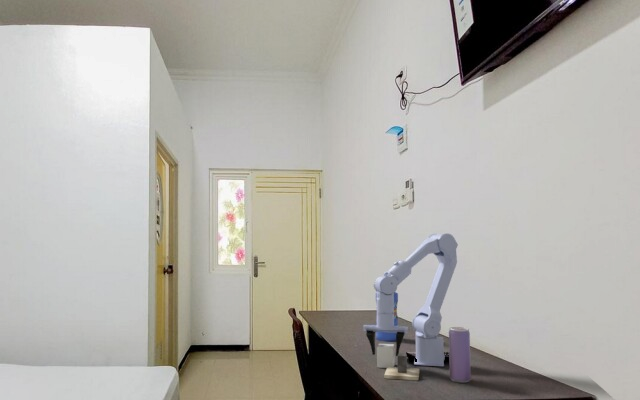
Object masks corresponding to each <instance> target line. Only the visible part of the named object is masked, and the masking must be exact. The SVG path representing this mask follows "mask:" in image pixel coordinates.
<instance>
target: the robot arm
mask: <svg viewBox="0 0 640 400" xmlns="http://www.w3.org/2000/svg"><path fill="white" fill-rule="evenodd" d="M458 245H459V244H458V242H457V241H456V238H455V237H454V236H453V235H452V234H451V233H439V234H437V233H433V234H430V235H429V236H428V237H427V238H425V239H424V240H423V242H421V244H420V245H419V246H418V247H417V248H415V250H414V251H413V252H412V253H411V254H410V255H408V257H407V258H406V259H405V260H399V261H395V262H393V266H392V267H391V268H389V269H388V270H387V271H384V272H383V275H381V276H378V277H377V278H376V279H375V282H374V284H373V288H374V290H375V291H376V293H377V304H376V317H377V325H376V324H363V325H362V328H363V329H362V331H363V332H364V333H366V334H365V335H366V337H367V340H368V343H369V344H370V348H371V354H372V355H373V356H374V355H375V354H376V332H389V333H397V334H396V341H395V345H396V348H395V349H396V350H395V356H396V357H398V354H400V348H401V345H402V342H403V339H404V337H405V334H407V335H408V334H409V327H408V326H401V325H398V326H394V292H396V291H397V289H398V286H399V285H400V284H401V283H402V282H404V281H405V280H406V279H407V278H408V277H409V276H410V275H412V269H413V267H414V266H416V265H417V264H418V263H420V262H421V261H422V260H424V259H425V258H426V257H427V256H428V255H430V254H433V255H435V257H436V259H437V260H438V262H439V264H438V267H437V269H436V271H435V272H436V273H435V275H434V278H433V281H432V283H431V286H430V289H429V292H428V294H427V297H426V300H425V303H424V305H423V306H422V307H421V308H419V309H418V312H417V314H416V315H414V317H413V319H412V321H411V326H412V329H413V330H414V331H415V335H414V336H415V358H416V359H417V362H415V361H413V365H414V366H415V365H416V366H429V367H430V366H431V367H432V366H433V367H445V363H444V361H445V358H446V357H445V353H444V337H443V336H438V335H439V334H440V332H441V329H442V327H441V326H442V324H441V323H442V319H443V317H442V314H441V309H442V306H443V303H444V300H445V297H446V295H447V292H448V289H449V287H450V283H451V281H452V278H453V276H454V273H455V270H456V267H457V263H458V257H457V248H458ZM385 330H391V331H385Z"/></svg>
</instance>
